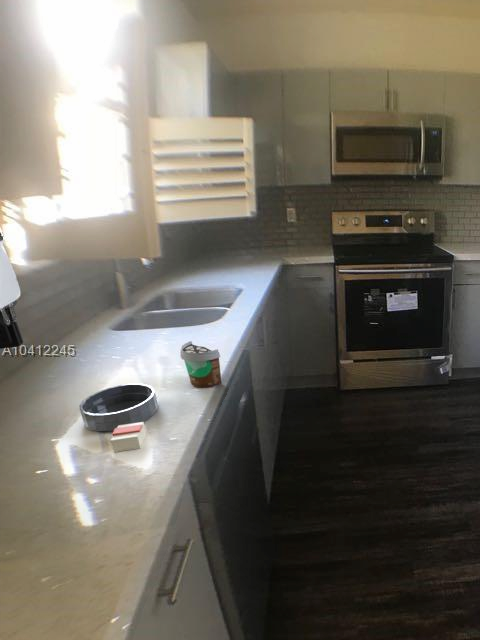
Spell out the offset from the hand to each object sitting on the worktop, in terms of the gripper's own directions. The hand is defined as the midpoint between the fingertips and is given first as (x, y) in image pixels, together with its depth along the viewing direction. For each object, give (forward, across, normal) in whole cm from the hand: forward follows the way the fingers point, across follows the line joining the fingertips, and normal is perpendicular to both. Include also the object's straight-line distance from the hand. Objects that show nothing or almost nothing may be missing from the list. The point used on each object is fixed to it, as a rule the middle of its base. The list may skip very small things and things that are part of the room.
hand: (11, 345), depth 78 cm
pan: (+25, -18, +8) cm, 32 cm away
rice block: (+25, -5, +12) cm, 28 cm away
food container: (+25, -30, +24) cm, 46 cm away
